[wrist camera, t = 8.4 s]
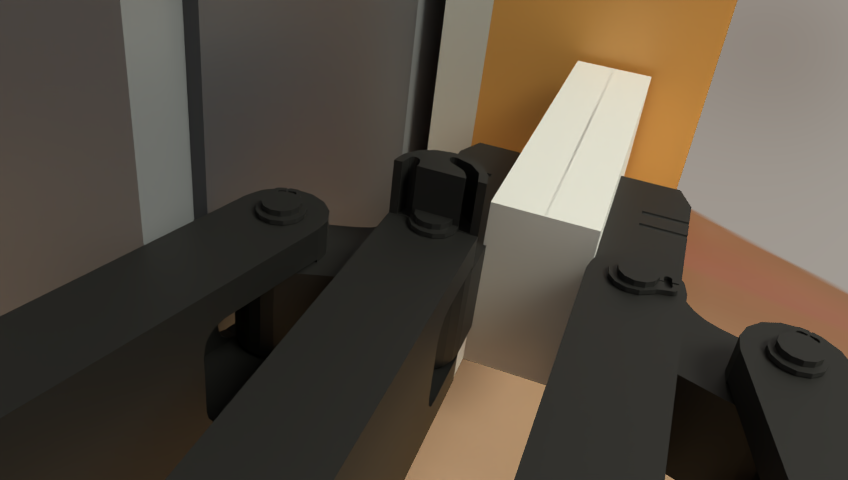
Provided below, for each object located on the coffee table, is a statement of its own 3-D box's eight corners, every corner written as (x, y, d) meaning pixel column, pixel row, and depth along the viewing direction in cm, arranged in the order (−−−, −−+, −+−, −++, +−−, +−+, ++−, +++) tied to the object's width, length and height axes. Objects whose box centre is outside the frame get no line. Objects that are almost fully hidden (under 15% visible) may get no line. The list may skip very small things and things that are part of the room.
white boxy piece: (406, 318, 21) (479, -270, 14) (515, 146, 30) (589, -247, 23) (614, 382, 19) (810, -228, 12) (657, 181, 29) (780, -222, 22)
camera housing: (-290, 481, 17) (-1118, -1002, 7) (214, 141, 33) (193, -448, 23) (285, 747, 14) (351, -1282, 4) (532, 227, 30) (671, -412, 20)
